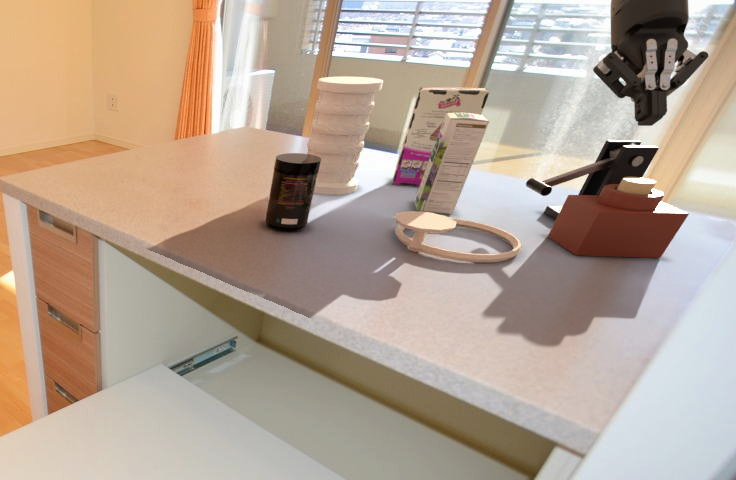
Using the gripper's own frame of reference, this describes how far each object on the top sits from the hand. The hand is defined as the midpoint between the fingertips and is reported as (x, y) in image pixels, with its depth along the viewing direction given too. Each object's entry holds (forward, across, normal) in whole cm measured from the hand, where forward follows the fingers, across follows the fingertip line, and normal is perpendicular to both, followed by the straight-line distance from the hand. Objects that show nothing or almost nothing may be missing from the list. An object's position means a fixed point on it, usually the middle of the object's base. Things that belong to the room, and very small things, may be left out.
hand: (650, 121), depth 73 cm
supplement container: (+10, +45, -12) cm, 48 cm away
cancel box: (+14, 0, -8) cm, 16 cm away
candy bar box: (-9, +15, -32) cm, 36 cm away
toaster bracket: (+6, -4, -16) cm, 18 cm away
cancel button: (+9, 0, -3) cm, 9 cm away
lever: (+1, 0, -11) cm, 12 cm away
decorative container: (-7, +34, -30) cm, 46 cm away
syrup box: (+2, +18, -21) cm, 28 cm away
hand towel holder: (+15, +22, -8) cm, 28 cm away
